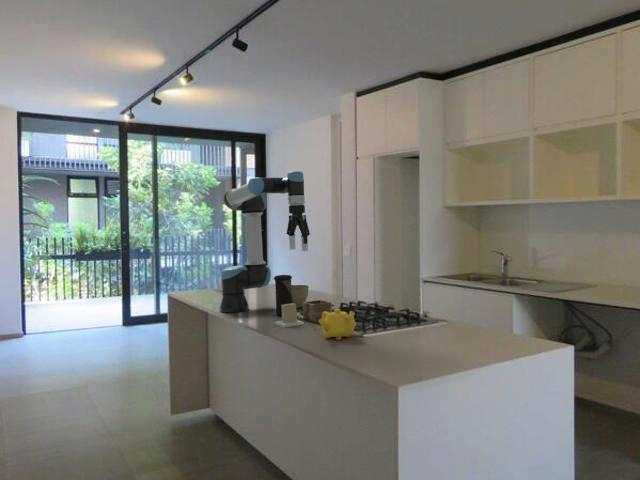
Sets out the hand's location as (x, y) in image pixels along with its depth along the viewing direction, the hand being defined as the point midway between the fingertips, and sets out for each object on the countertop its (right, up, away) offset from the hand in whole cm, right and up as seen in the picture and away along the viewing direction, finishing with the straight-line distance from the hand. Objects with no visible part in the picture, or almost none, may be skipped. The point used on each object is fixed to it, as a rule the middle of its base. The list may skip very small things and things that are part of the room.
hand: (298, 250), depth 249 cm
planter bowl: (-4, -31, +37) cm, 49 cm away
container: (-8, -33, +15) cm, 37 cm away
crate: (+9, -32, 0) cm, 34 cm away
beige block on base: (-4, -34, -8) cm, 35 cm away
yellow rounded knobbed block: (+17, -34, -37) cm, 53 cm away
